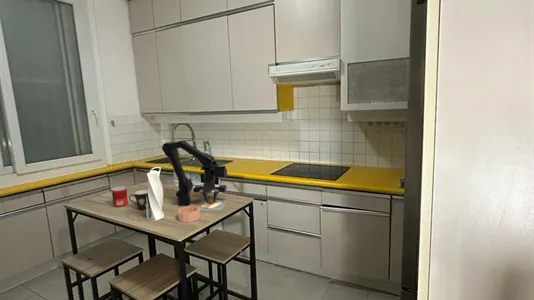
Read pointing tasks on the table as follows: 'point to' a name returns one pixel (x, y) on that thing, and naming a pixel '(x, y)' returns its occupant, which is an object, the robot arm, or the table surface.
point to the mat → (213, 208)
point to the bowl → (188, 214)
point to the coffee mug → (141, 199)
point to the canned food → (119, 196)
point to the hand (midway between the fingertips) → (211, 202)
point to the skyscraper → (154, 196)
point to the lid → (211, 203)
